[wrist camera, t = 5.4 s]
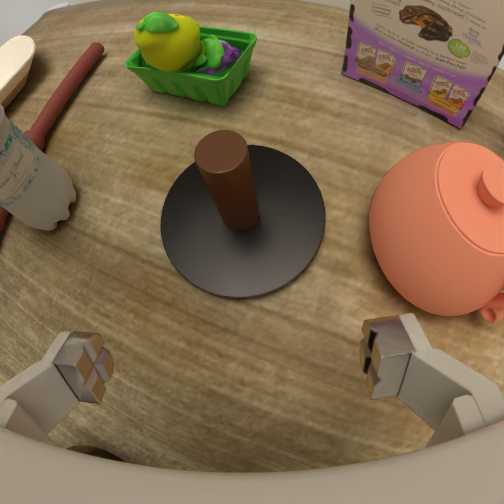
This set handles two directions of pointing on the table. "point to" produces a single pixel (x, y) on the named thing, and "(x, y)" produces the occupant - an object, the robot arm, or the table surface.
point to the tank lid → (242, 218)
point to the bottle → (31, 180)
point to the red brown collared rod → (59, 103)
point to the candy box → (426, 51)
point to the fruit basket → (190, 57)
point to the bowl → (14, 67)
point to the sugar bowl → (443, 229)
